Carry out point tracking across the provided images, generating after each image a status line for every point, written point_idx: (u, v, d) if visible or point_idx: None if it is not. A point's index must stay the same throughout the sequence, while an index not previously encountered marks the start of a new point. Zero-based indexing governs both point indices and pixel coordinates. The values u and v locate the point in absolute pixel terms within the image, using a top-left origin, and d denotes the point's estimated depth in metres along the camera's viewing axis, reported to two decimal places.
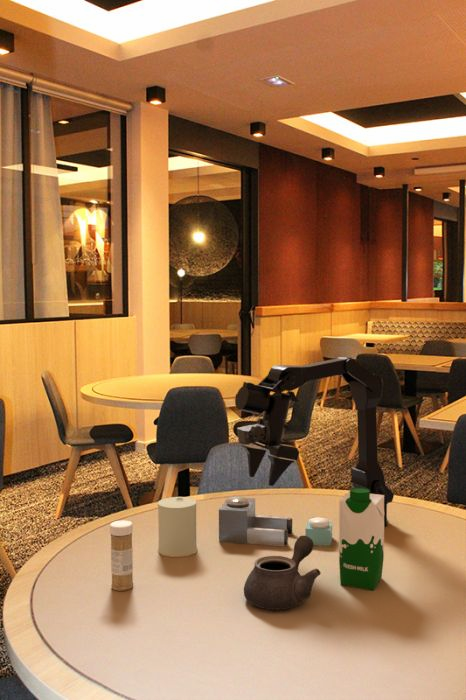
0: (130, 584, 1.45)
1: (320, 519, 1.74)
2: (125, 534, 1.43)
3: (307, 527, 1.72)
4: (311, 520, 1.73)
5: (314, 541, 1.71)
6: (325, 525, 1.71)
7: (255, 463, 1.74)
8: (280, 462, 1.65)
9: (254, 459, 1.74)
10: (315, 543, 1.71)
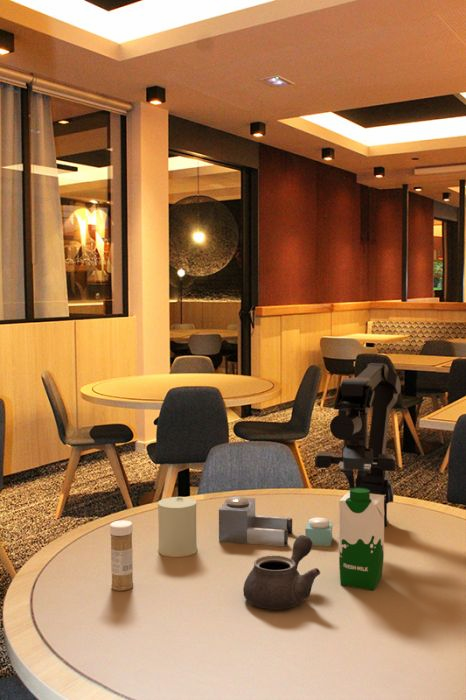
0: (130, 584, 1.45)
1: (320, 519, 1.74)
2: (125, 534, 1.43)
3: (307, 527, 1.72)
4: (311, 520, 1.73)
5: (314, 541, 1.71)
6: (325, 525, 1.71)
7: (353, 481, 1.71)
8: None
9: (353, 478, 1.71)
10: (315, 543, 1.71)
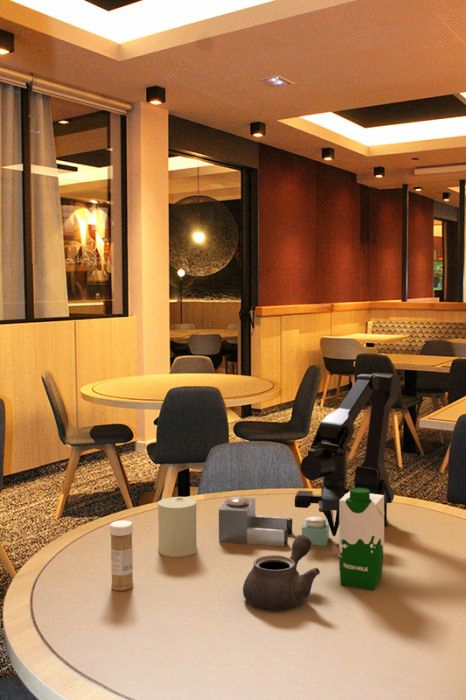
0: (130, 584, 1.45)
1: (316, 518, 1.74)
2: (125, 534, 1.43)
3: (303, 526, 1.72)
4: (308, 519, 1.73)
5: None
6: (321, 524, 1.71)
7: (333, 521, 1.73)
8: None
9: (332, 518, 1.72)
10: (311, 542, 1.71)
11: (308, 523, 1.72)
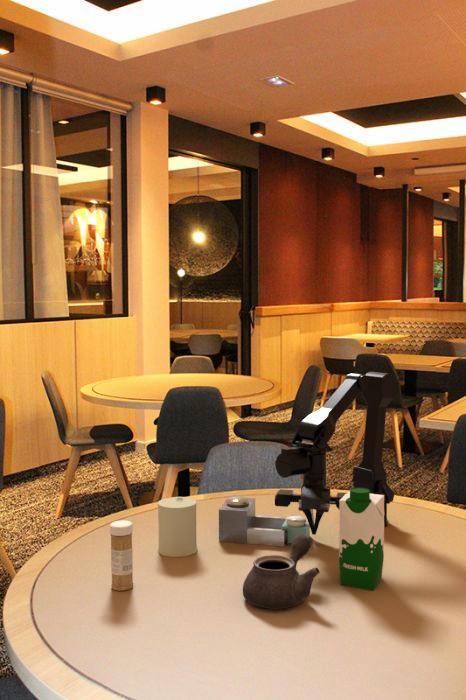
0: (130, 584, 1.45)
1: (297, 517, 1.75)
2: (125, 534, 1.43)
3: (283, 525, 1.73)
4: (288, 518, 1.75)
5: (290, 539, 1.72)
6: (301, 523, 1.72)
7: (313, 519, 1.74)
8: None
9: (312, 517, 1.73)
10: (291, 541, 1.72)
11: (288, 522, 1.73)
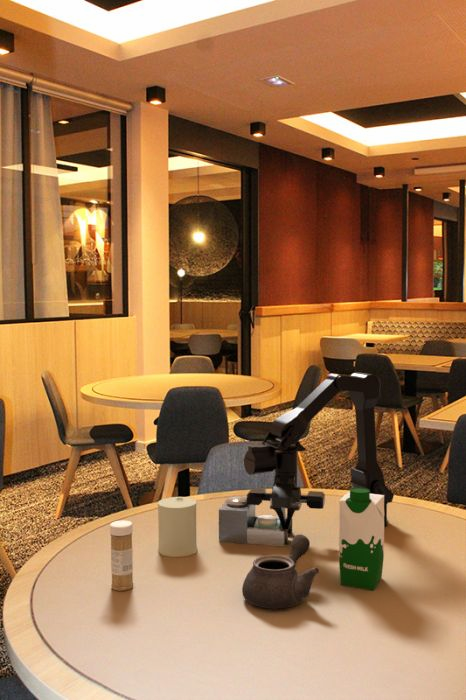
0: (130, 584, 1.45)
1: (268, 517, 1.76)
2: (125, 534, 1.43)
3: (256, 525, 1.74)
4: (259, 518, 1.75)
5: None
6: (273, 522, 1.74)
7: (284, 518, 1.75)
8: None
9: (284, 515, 1.75)
10: None
11: (260, 521, 1.74)
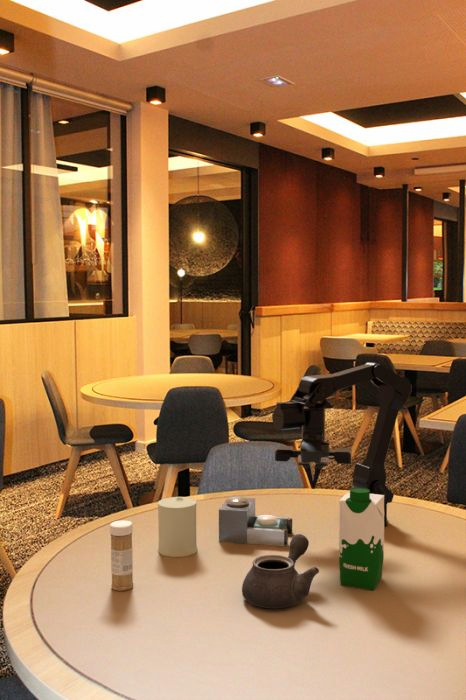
0: (130, 584, 1.45)
1: (268, 516, 1.76)
2: (125, 534, 1.43)
3: (255, 524, 1.74)
4: (259, 517, 1.75)
5: None
6: (273, 522, 1.74)
7: (312, 474, 1.78)
8: None
9: (311, 471, 1.78)
10: None
11: (260, 521, 1.74)
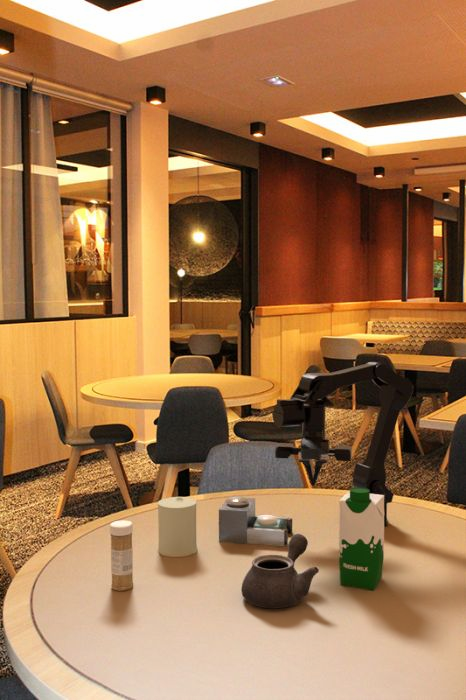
0: (130, 584, 1.45)
1: (268, 516, 1.76)
2: (125, 534, 1.43)
3: (255, 524, 1.74)
4: (259, 517, 1.76)
5: None
6: (273, 522, 1.74)
7: (312, 471, 1.79)
8: None
9: (311, 468, 1.78)
10: None
11: (259, 521, 1.74)
